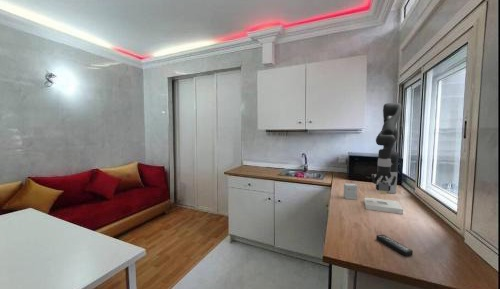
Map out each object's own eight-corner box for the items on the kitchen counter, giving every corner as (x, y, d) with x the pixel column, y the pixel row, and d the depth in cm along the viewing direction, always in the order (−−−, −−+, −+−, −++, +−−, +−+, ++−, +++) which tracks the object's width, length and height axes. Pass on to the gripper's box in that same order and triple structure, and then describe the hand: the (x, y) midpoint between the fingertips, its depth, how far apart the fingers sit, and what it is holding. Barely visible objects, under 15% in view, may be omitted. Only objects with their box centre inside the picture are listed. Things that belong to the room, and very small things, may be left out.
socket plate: (364, 201, 156) (364, 196, 156) (397, 205, 148) (397, 200, 148) (366, 209, 141) (366, 203, 141) (402, 214, 133) (403, 208, 133)
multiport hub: (405, 257, 90) (405, 252, 90) (375, 240, 104) (375, 235, 103) (412, 255, 91) (413, 250, 91) (382, 238, 105) (383, 234, 105)
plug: (377, 192, 147) (378, 179, 147) (386, 192, 145) (387, 180, 144) (378, 194, 142) (379, 181, 142) (388, 195, 140) (388, 182, 140)
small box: (354, 197, 166) (354, 183, 165) (357, 199, 160) (357, 185, 159) (343, 196, 166) (343, 183, 165) (345, 199, 161) (346, 185, 160)
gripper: (395, 165, 143) (394, 190, 144) (371, 163, 149) (369, 187, 150) (398, 167, 136) (396, 193, 137) (372, 165, 142) (371, 190, 143)
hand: (382, 190), depth 144 cm, fingers closed on plug, 5 cm apart
